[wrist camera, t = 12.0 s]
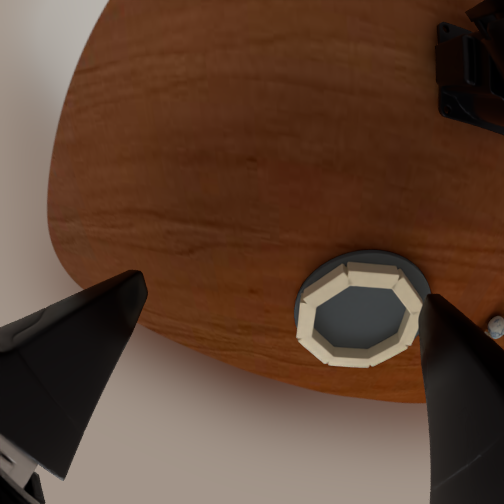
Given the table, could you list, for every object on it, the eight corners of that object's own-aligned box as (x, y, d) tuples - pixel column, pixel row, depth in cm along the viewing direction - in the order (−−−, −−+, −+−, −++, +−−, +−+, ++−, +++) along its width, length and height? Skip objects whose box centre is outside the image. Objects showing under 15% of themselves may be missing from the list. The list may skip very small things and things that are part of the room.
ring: (433, 268, 18) (437, 277, 17) (398, 358, 23) (400, 368, 22) (304, 257, 20) (303, 266, 19) (294, 352, 25) (293, 362, 24)
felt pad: (447, 256, 18) (449, 260, 17) (405, 360, 23) (406, 364, 23) (299, 242, 20) (299, 245, 20) (290, 353, 25) (289, 357, 25)
